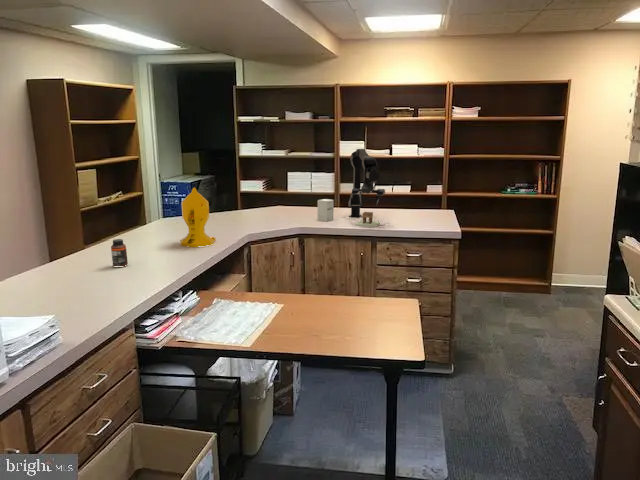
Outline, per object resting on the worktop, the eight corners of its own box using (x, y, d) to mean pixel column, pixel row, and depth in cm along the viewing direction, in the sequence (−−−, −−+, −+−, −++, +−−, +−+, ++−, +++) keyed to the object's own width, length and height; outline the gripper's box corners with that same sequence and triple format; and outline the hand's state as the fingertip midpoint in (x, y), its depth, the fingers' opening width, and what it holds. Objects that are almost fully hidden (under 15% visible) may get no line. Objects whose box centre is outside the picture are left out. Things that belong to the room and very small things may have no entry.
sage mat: (360, 221, 315) (360, 220, 314) (379, 223, 311) (379, 221, 311) (355, 225, 304) (355, 223, 303) (375, 226, 300) (375, 225, 300)
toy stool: (364, 221, 310) (364, 211, 309) (372, 222, 308) (372, 212, 307) (362, 223, 305) (362, 213, 304) (370, 223, 304) (370, 213, 303)
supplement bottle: (123, 263, 223) (120, 237, 221) (130, 265, 220) (128, 239, 217) (110, 266, 219) (107, 240, 216) (117, 268, 215) (115, 242, 213)
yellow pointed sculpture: (204, 237, 274) (202, 184, 268) (224, 245, 255) (222, 188, 248) (172, 241, 264) (168, 186, 258) (190, 250, 245) (187, 191, 239)
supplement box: (326, 221, 316) (326, 201, 313) (317, 220, 320) (317, 200, 317) (333, 219, 321) (333, 199, 319) (324, 218, 326) (324, 198, 323)
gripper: (349, 180, 297) (349, 207, 300) (381, 181, 291) (380, 208, 294) (354, 178, 307) (354, 204, 310) (385, 179, 301) (384, 205, 304)
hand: (368, 205), depth 305 cm, fingers open, 9 cm apart
